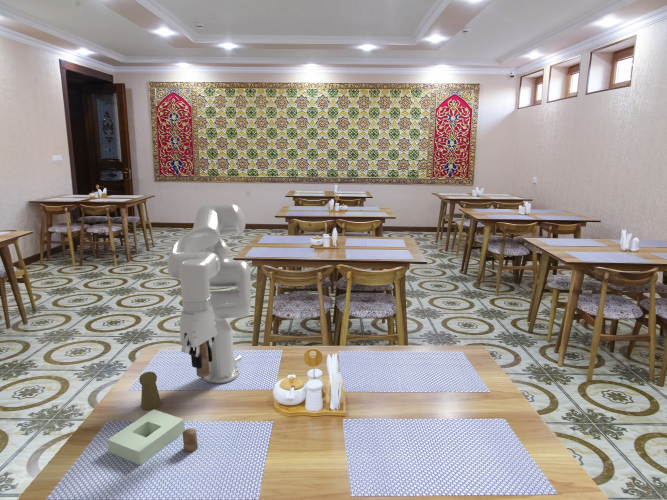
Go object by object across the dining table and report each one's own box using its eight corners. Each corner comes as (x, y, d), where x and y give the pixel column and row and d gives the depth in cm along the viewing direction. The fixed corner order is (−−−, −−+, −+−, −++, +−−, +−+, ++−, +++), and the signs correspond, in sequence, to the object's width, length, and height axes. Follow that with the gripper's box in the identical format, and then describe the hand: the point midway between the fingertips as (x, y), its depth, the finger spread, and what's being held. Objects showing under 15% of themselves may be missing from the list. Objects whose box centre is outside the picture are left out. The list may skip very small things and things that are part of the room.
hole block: (154, 421, 141) (153, 409, 140) (184, 431, 135) (183, 419, 134) (109, 452, 127) (107, 439, 126) (140, 465, 121) (139, 452, 120)
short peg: (190, 442, 130) (189, 427, 129) (200, 446, 129) (199, 430, 128) (181, 450, 127) (179, 434, 126) (191, 454, 126) (189, 437, 124)
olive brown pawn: (154, 411, 146) (150, 379, 143) (137, 409, 147) (133, 377, 144) (164, 400, 152) (161, 370, 149) (148, 398, 153) (144, 368, 150)
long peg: (202, 369, 136) (199, 331, 132) (212, 372, 134) (209, 334, 131) (194, 375, 132) (190, 336, 129) (203, 378, 131) (200, 339, 128)
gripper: (206, 292, 136) (211, 349, 141) (164, 312, 122) (170, 374, 127) (227, 296, 133) (231, 354, 138) (185, 317, 119) (191, 380, 124)
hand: (202, 363), depth 132 cm, fingers closed on long peg, 3 cm apart
